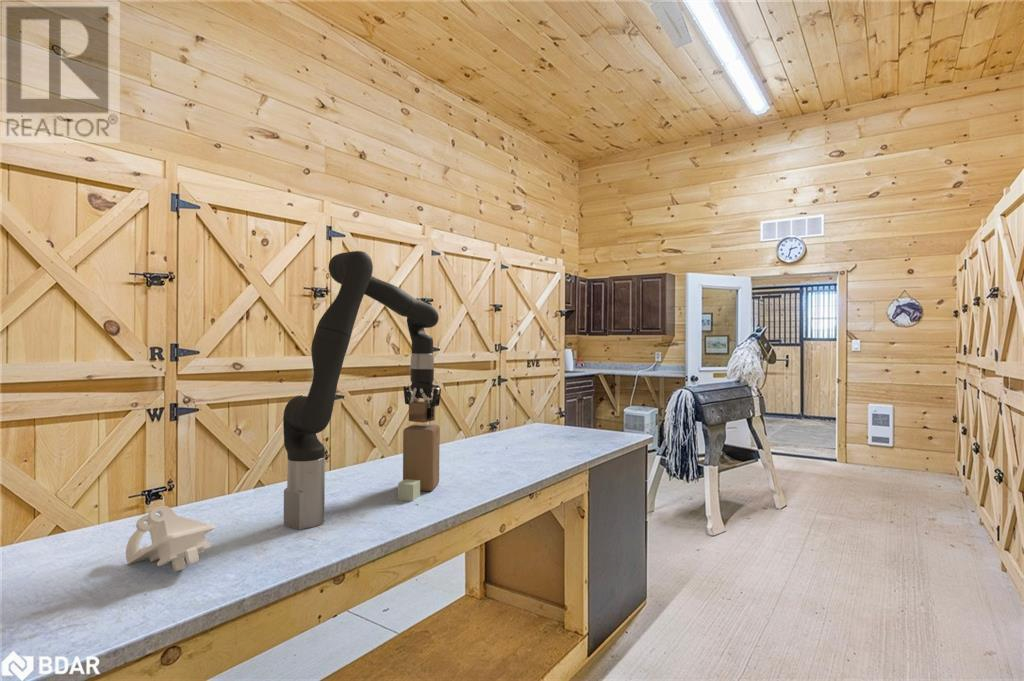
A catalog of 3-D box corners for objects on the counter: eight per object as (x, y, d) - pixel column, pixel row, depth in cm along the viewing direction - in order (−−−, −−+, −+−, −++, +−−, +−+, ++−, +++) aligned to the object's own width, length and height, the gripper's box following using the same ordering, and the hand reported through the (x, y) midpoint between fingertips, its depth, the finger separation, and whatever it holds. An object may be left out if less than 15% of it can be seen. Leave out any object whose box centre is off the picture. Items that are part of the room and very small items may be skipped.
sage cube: (413, 501, 161) (413, 484, 161) (397, 499, 162) (398, 483, 162) (420, 496, 166) (420, 480, 166) (405, 495, 167) (405, 479, 167)
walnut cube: (423, 422, 171) (423, 403, 171) (408, 421, 174) (408, 402, 174) (434, 420, 176) (434, 402, 176) (420, 418, 179) (420, 400, 179)
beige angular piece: (127, 592, 112) (116, 531, 116) (185, 573, 122) (173, 516, 125) (166, 570, 102) (152, 504, 106) (226, 551, 112) (212, 490, 115)
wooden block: (439, 483, 180) (440, 424, 180) (432, 492, 170) (433, 429, 170) (410, 482, 181) (411, 423, 181) (401, 491, 171) (402, 428, 171)
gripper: (397, 367, 175) (397, 418, 175) (432, 368, 168) (432, 422, 168) (412, 366, 182) (411, 415, 182) (446, 367, 175) (446, 419, 175)
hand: (421, 418), depth 175 cm, fingers closed on walnut cube, 6 cm apart
